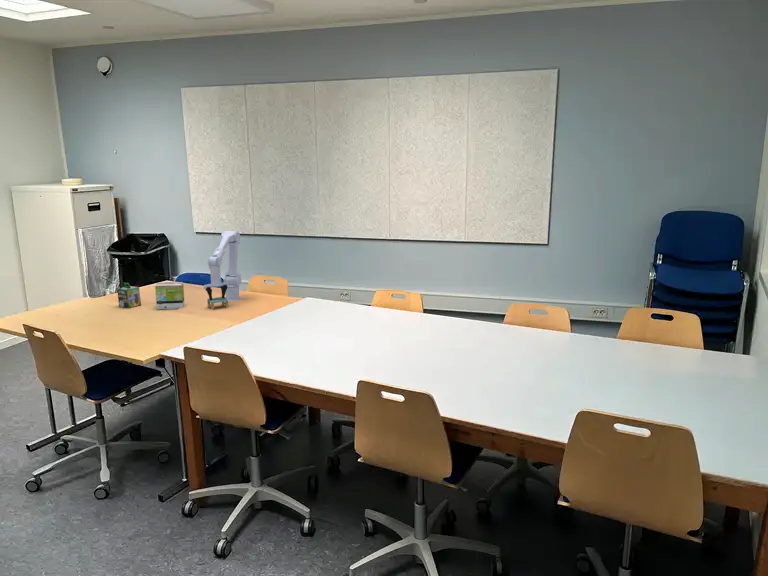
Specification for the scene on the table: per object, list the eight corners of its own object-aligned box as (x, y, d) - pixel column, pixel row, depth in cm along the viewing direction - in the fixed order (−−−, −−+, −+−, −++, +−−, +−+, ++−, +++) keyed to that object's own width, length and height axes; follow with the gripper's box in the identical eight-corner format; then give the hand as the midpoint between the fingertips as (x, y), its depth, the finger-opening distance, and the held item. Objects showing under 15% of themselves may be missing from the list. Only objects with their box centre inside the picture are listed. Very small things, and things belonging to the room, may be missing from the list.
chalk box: (141, 305, 345) (139, 281, 342) (128, 308, 337) (126, 284, 334) (131, 303, 349) (128, 280, 346) (118, 306, 341) (115, 283, 338)
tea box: (156, 310, 334) (154, 285, 331) (159, 306, 343) (157, 282, 340) (183, 308, 337) (181, 284, 334) (185, 304, 347) (183, 281, 344)
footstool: (207, 306, 339) (207, 298, 337) (223, 304, 345) (223, 296, 343) (212, 309, 333) (211, 301, 332) (228, 307, 339) (227, 299, 338)
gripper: (206, 279, 328) (207, 301, 331) (230, 276, 337) (231, 298, 339) (201, 277, 333) (203, 299, 336) (225, 274, 342) (226, 296, 345)
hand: (217, 298), depth 338 cm, fingers open, 7 cm apart
